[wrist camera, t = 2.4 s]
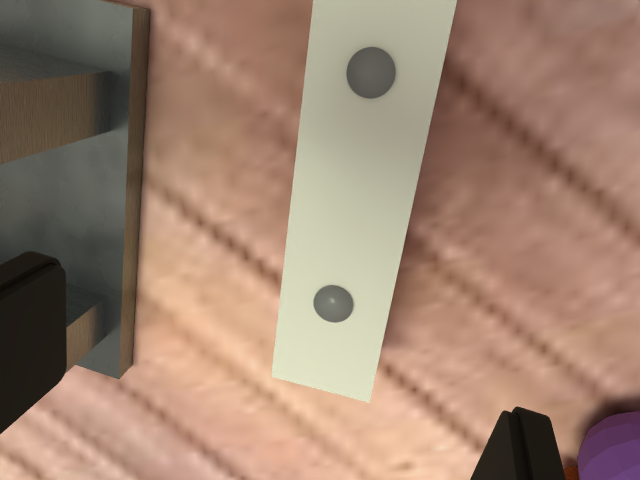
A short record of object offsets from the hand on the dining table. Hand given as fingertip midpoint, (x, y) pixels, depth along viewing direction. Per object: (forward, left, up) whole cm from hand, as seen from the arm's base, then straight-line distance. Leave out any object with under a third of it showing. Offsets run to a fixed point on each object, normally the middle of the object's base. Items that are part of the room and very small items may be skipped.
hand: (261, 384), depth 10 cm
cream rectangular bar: (0, 0, -17) cm, 17 cm away
